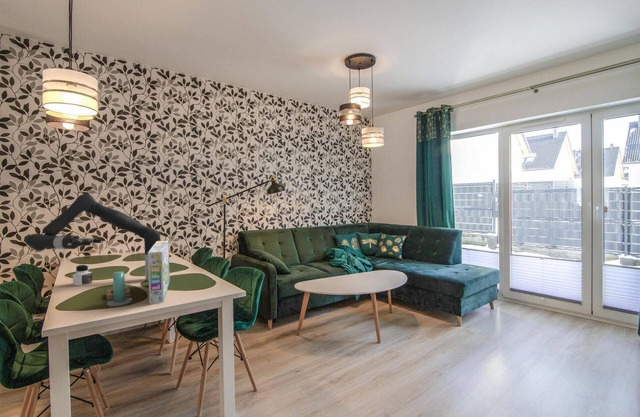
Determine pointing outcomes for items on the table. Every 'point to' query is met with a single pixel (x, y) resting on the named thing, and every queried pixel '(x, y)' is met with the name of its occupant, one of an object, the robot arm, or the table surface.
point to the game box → (158, 271)
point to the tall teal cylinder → (119, 286)
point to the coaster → (113, 304)
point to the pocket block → (111, 293)
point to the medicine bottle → (82, 276)
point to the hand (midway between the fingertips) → (95, 242)
